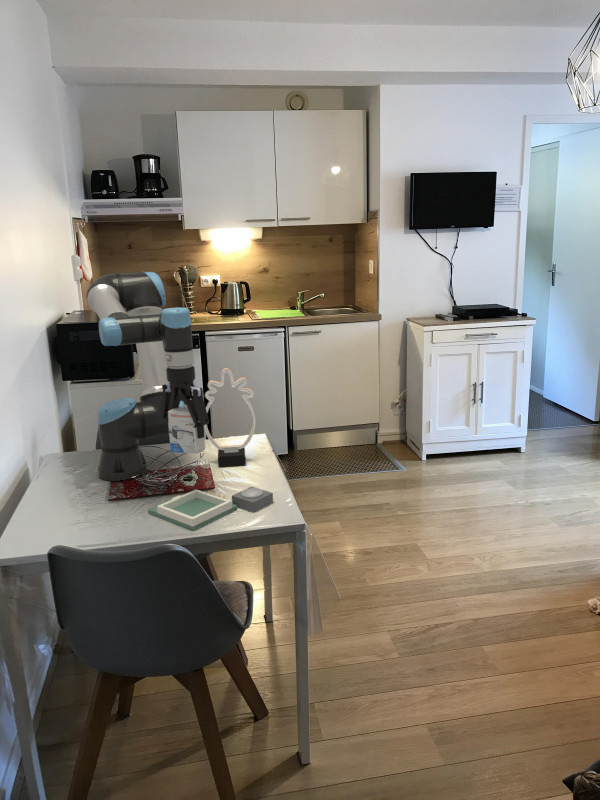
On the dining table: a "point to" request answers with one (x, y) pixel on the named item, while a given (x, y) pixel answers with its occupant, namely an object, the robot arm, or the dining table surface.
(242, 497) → the push button
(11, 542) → the dining table surface
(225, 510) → the board
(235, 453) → the lamp
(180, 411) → the ink box
